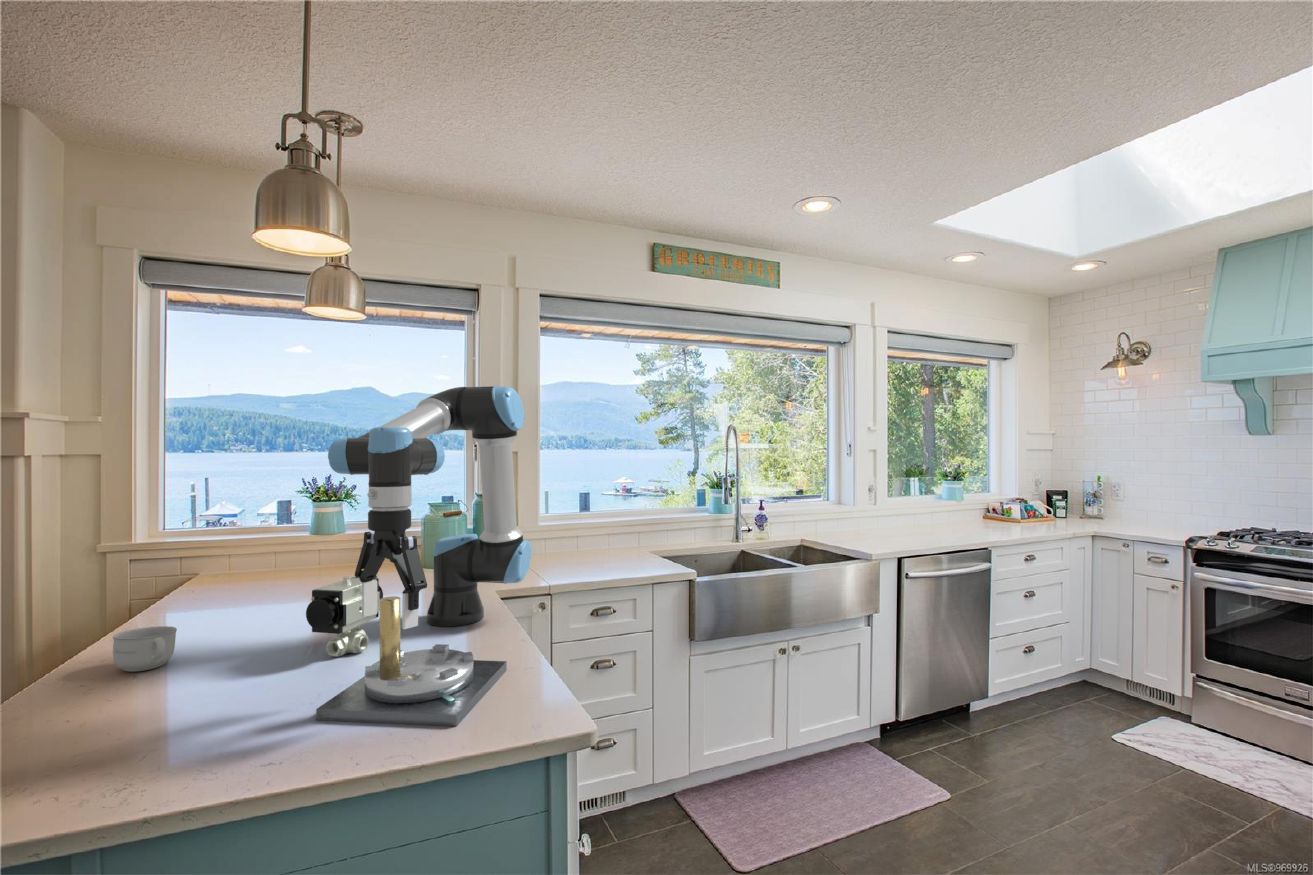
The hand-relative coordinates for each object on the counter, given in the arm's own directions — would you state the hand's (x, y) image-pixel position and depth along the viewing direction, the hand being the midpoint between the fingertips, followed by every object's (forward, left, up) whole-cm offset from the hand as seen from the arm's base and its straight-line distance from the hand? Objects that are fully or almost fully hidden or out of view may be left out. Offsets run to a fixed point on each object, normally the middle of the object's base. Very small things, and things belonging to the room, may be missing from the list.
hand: (389, 621), depth 116 cm
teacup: (-13, -63, -16) cm, 66 cm away
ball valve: (-27, -25, -16) cm, 40 cm away
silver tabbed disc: (-6, +3, -14) cm, 15 cm away
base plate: (-6, +3, -16) cm, 17 cm away
